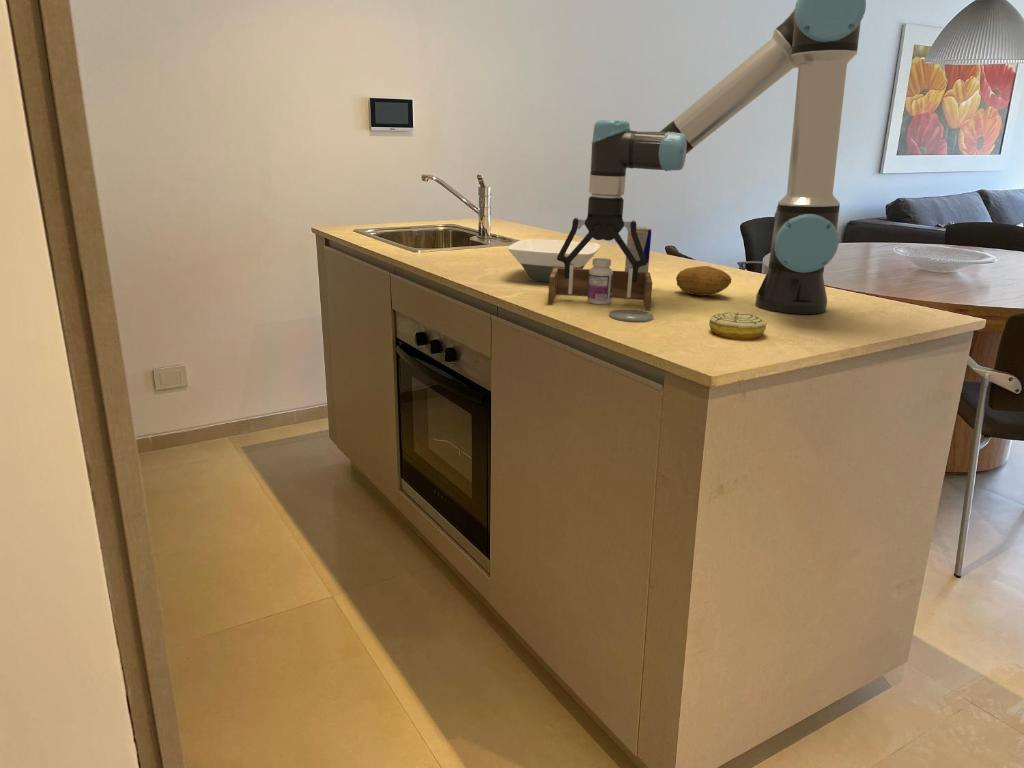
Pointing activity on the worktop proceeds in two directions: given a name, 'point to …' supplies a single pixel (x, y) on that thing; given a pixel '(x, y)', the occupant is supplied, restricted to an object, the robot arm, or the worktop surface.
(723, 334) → the decorated donut
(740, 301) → the worktop surface
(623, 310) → the coaster
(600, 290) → the pill bottle
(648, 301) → the wooden u-shaped frame
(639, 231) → the beverage can
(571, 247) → the bowl
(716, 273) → the potato
